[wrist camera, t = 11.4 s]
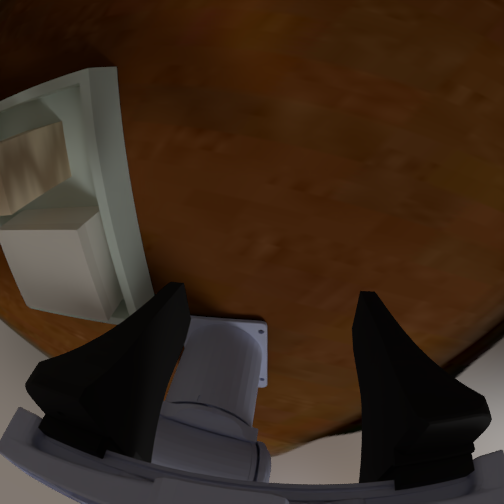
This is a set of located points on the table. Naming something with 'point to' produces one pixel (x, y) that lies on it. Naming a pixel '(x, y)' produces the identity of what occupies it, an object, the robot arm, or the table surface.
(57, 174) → the maple block
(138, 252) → the pale green tray
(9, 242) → the light gray block
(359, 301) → the robot arm
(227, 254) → the table surface
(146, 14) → the table surface
